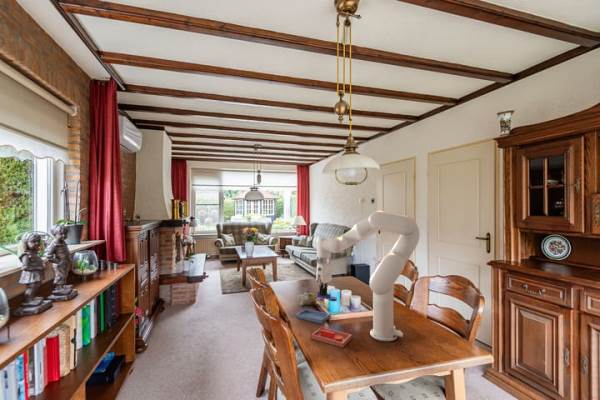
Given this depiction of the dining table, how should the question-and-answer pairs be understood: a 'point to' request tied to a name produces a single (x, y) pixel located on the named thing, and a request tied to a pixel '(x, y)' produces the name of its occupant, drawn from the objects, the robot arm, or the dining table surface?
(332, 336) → the red spoon
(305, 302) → the ceramic sculpture
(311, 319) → the blue tray
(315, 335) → the rose tray
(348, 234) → the robot arm
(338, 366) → the dining table surface
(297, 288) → the dining table surface
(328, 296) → the blue spoon
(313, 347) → the dining table surface
